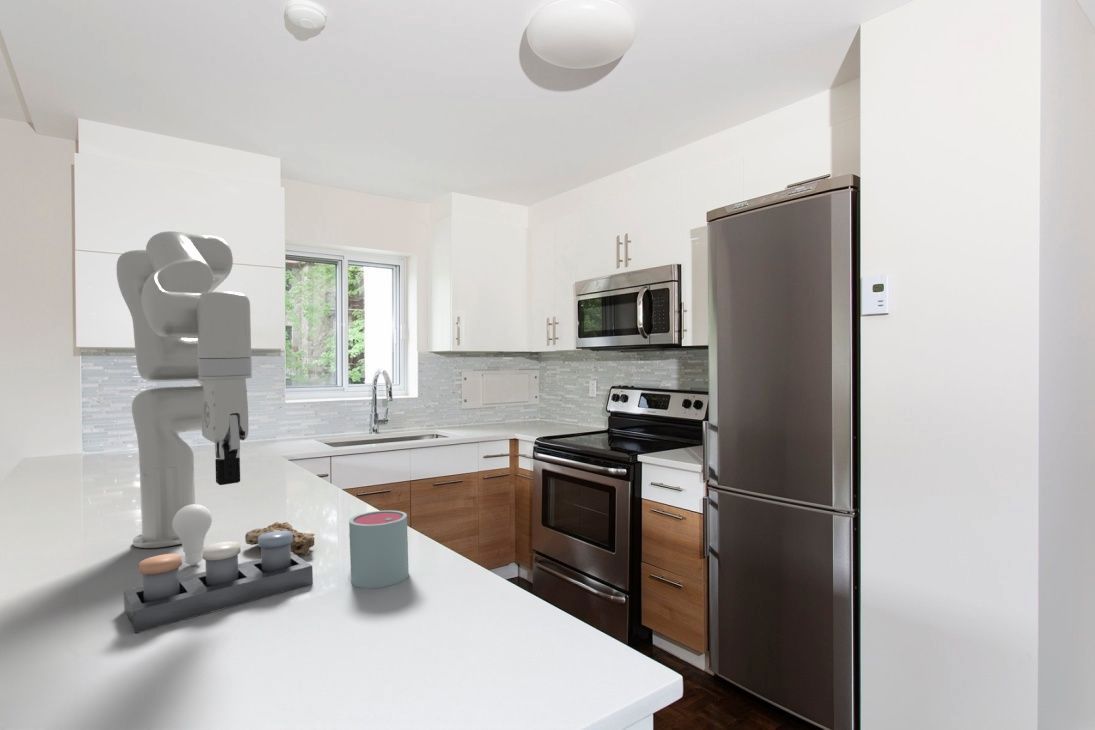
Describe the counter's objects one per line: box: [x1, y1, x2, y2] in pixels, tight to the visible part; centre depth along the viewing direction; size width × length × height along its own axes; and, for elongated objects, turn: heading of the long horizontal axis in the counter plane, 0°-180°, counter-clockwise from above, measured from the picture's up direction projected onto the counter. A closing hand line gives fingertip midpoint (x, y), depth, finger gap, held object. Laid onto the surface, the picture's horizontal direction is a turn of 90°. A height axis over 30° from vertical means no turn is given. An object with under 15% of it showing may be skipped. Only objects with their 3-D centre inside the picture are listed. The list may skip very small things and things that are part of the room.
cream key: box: [202, 541, 242, 588], centre depth 92 cm, size 5×5×6 cm
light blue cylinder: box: [257, 531, 293, 573], centre depth 97 cm, size 5×5×6 cm
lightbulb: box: [172, 503, 213, 567], centre depth 107 cm, size 6×6×11 cm
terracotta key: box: [138, 553, 183, 603], centre depth 86 cm, size 5×5×6 cm
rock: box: [244, 521, 316, 556], centre depth 115 cm, size 17×5×10 cm
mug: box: [348, 509, 409, 589], centre depth 100 cm, size 14×9×10 cm
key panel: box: [123, 552, 314, 634], centre depth 92 cm, size 10×24×3 cm, turn 132°
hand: (228, 482), depth 95 cm, fingers closed
